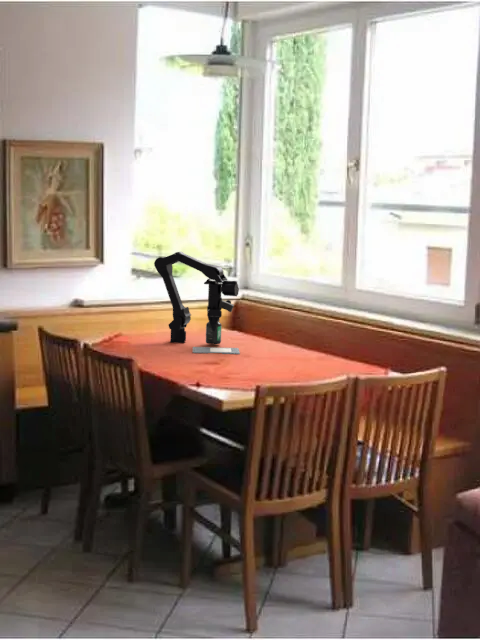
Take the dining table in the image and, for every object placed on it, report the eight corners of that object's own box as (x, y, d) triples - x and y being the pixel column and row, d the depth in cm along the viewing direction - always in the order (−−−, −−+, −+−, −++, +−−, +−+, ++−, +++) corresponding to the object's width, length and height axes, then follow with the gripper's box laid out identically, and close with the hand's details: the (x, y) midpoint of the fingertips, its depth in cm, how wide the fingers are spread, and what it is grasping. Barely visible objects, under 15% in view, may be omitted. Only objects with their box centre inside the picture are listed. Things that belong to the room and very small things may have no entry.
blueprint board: (192, 353, 401) (192, 351, 401) (192, 347, 413) (192, 346, 413) (239, 354, 402) (239, 353, 401) (238, 348, 414) (238, 347, 414)
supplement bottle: (222, 344, 419) (223, 317, 418) (208, 344, 417) (208, 317, 416) (218, 341, 426) (219, 315, 424) (203, 342, 424) (204, 315, 422)
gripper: (233, 297, 410) (232, 333, 412) (232, 292, 428) (231, 327, 430) (207, 297, 409) (206, 332, 411) (207, 292, 428) (206, 326, 430)
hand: (213, 329), depth 421 cm, fingers closed on supplement bottle, 7 cm apart
